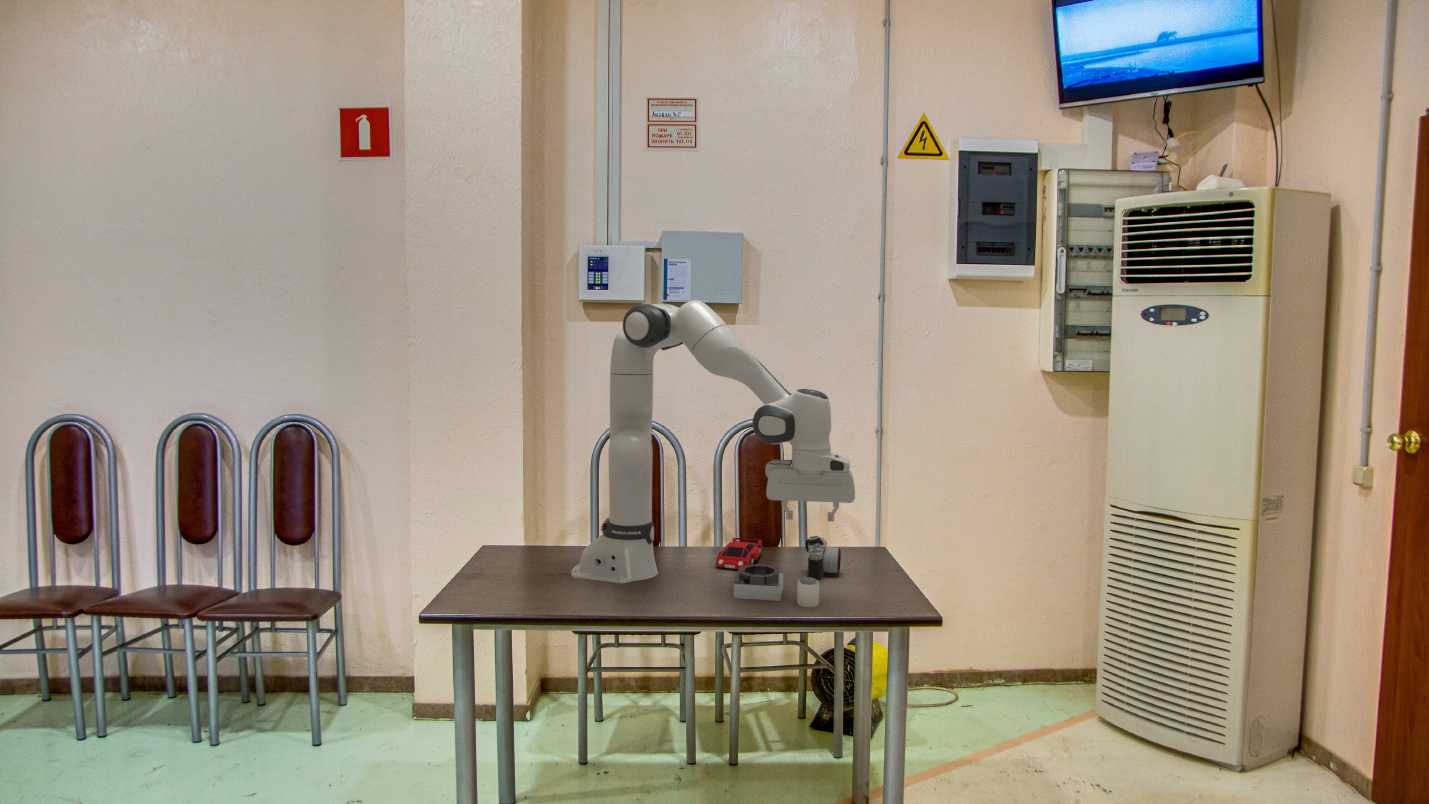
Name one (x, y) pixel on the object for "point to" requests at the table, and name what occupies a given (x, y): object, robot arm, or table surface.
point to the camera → (821, 558)
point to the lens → (808, 592)
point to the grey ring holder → (758, 583)
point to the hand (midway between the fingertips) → (810, 519)
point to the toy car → (739, 553)
